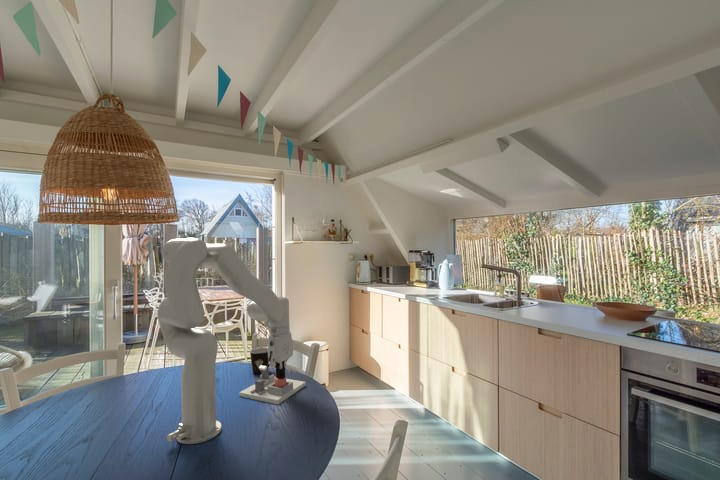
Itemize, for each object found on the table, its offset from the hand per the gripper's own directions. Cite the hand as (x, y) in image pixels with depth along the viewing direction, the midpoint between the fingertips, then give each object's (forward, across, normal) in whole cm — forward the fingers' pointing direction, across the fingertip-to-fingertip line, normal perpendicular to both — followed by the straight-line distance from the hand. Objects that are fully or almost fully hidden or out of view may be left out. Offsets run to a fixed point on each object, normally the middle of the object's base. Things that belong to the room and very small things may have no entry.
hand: (280, 377), depth 134 cm
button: (+4, 0, 0) cm, 4 cm away
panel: (+6, +2, +5) cm, 8 cm away
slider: (+5, -4, +7) cm, 9 cm away
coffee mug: (+7, +16, +22) cm, 28 cm away
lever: (+4, +6, +12) cm, 13 cm away
